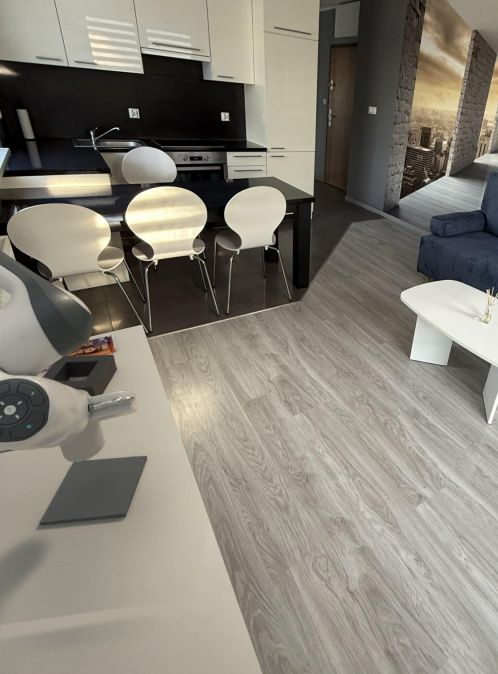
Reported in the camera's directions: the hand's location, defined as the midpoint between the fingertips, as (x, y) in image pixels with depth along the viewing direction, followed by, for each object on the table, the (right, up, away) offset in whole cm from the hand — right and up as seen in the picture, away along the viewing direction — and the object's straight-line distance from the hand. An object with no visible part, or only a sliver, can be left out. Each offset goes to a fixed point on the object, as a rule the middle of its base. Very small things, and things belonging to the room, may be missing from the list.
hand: (76, 419), depth 70 cm
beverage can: (0, -7, +3) cm, 7 cm away
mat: (-1, -16, +8) cm, 18 cm away
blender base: (-22, -2, +32) cm, 39 cm away
